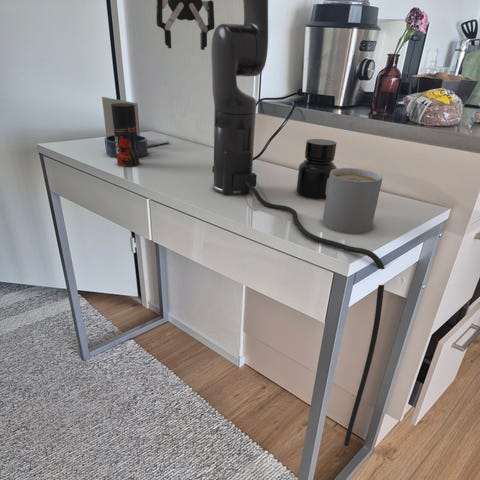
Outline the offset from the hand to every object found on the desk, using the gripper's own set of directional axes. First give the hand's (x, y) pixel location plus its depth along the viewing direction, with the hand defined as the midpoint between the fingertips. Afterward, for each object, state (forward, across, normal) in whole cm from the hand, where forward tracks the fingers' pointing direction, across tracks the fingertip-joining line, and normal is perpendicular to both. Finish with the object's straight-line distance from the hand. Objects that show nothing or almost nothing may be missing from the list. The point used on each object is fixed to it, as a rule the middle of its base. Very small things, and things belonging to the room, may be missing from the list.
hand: (186, 49), depth 111 cm
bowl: (+28, -17, +10) cm, 34 cm away
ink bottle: (+28, +25, -34) cm, 51 cm away
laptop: (+28, -13, +28) cm, 42 cm away
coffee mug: (+28, +26, -53) cm, 66 cm away
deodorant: (+28, -17, -1) cm, 33 cm away
